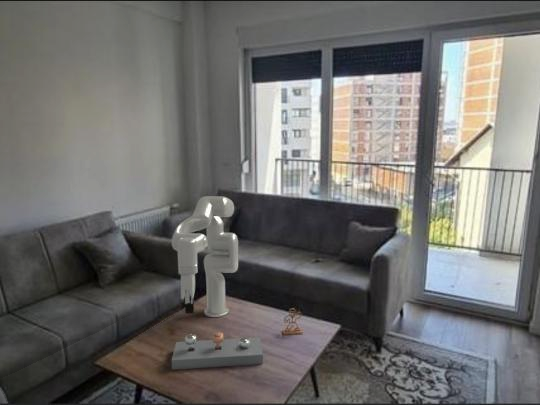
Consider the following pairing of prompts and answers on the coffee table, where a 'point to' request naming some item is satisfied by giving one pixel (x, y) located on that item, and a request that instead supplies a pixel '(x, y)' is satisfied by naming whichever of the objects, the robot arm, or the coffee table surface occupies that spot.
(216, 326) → the coffee table surface
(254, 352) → the knob panel
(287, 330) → the tan upright piece
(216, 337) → the knob middle
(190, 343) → the knob
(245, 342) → the knob
